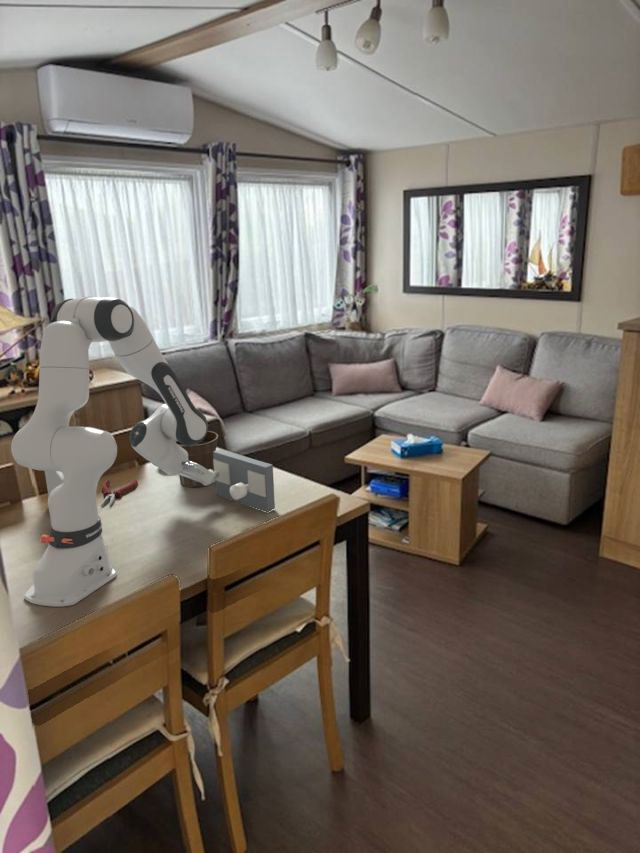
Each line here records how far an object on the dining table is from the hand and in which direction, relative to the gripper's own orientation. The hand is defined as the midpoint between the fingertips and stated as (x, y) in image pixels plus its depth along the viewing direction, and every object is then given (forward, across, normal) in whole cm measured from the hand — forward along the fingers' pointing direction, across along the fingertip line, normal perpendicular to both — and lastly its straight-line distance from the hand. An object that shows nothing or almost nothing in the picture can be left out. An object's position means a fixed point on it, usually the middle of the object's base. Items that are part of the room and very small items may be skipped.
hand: (201, 480), depth 198 cm
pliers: (-2, +32, +16) cm, 36 cm away
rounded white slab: (-16, +26, +29) cm, 42 cm away
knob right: (+2, -17, 0) cm, 17 cm away
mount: (+13, -9, -1) cm, 15 cm away
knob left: (+4, -1, -1) cm, 4 cm away
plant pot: (+15, +18, -2) cm, 23 cm away
